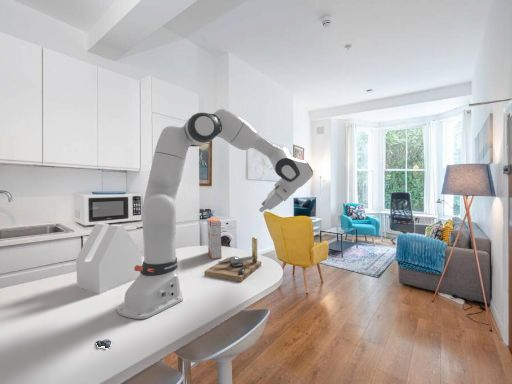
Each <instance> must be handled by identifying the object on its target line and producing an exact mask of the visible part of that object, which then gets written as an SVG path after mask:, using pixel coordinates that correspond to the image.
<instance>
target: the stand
mask: <svg viewBox="0 0 512 384" xmlns="http://www.w3.org/2000/svg"><path fill="white" fill-rule="evenodd" d="M230 257H231V256H230ZM230 257H226V258H224V259H223V260H222V261H224V260H230ZM241 262H243V266H240V267H232V266H230V263H229V264H223V265H219V262H218V263H216V264H214V265H212V266H211V267H209V268H207V269H206V270H203V271H204V272H203V274H204V276H207V277H213V278H218V279H224V280H231V281H236V282H240V283H241V282H242V283H243V281H245V280H246V279H247V278H248V277H249V276H250V275H252V274H253V273H254V272H256V270H258V269H259V268H260V267H261V266H262V261H260V260H257V262H252V260H247V261H241Z"/></svg>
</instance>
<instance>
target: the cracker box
mask: <svg viewBox="0 0 512 384" xmlns="http://www.w3.org/2000/svg"><path fill="white" fill-rule="evenodd" d="M206 219H207V247H208V249H207V251H208V253H209V256H210V259H211V260H216V259H221V258H222V226H221V225H222V224H221V223H222V222H221V220H220V219H219V218H218V217H207V218H206Z"/></svg>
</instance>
